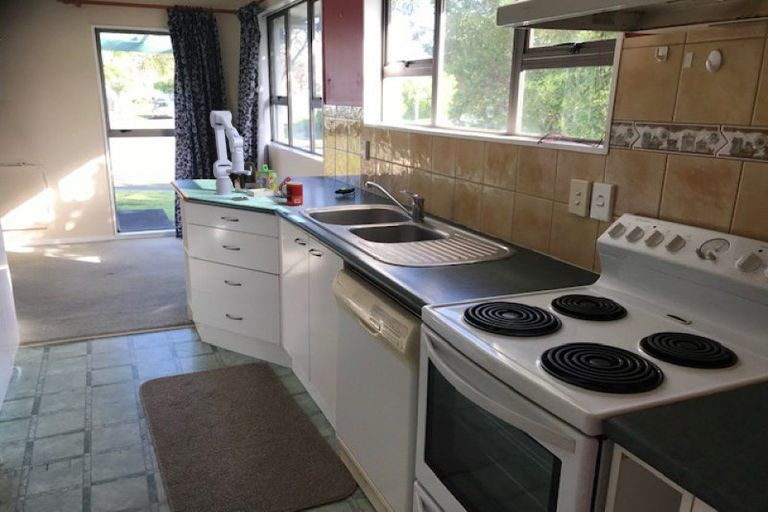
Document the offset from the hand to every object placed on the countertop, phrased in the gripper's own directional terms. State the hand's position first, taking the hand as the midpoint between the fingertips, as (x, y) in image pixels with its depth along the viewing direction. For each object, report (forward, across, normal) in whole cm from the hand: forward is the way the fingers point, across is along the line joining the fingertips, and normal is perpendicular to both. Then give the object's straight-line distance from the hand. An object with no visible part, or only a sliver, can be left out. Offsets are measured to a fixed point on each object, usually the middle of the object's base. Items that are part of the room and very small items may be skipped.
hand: (239, 188), depth 292 cm
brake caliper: (+6, +15, +21) cm, 27 cm away
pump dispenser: (+7, -25, +39) cm, 46 cm away
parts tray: (+6, -1, +18) cm, 19 cm away
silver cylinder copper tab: (+2, 0, 0) cm, 2 cm away
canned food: (+6, +31, +4) cm, 32 cm away
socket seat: (+6, 0, 0) cm, 6 cm away
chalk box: (+7, -9, +34) cm, 36 cm away
